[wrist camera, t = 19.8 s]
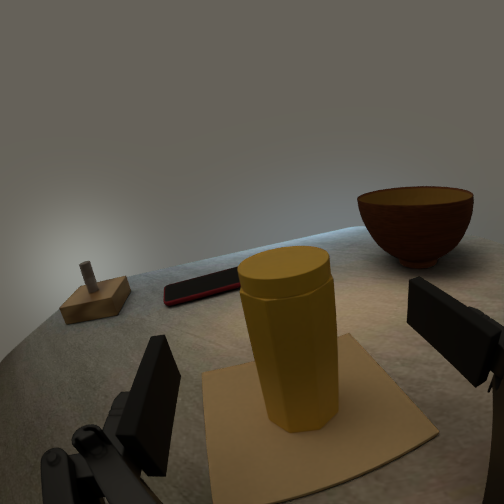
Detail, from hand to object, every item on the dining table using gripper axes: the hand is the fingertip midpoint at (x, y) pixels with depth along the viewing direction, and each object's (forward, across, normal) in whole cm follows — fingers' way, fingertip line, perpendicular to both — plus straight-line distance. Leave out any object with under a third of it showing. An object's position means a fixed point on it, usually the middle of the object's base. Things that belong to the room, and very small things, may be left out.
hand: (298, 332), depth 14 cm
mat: (+2, 0, -8) cm, 8 cm away
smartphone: (+29, -7, -8) cm, 31 cm away
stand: (+30, -27, -8) cm, 41 cm away
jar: (+2, 0, -8) cm, 8 cm away
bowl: (+22, +23, -8) cm, 33 cm away
